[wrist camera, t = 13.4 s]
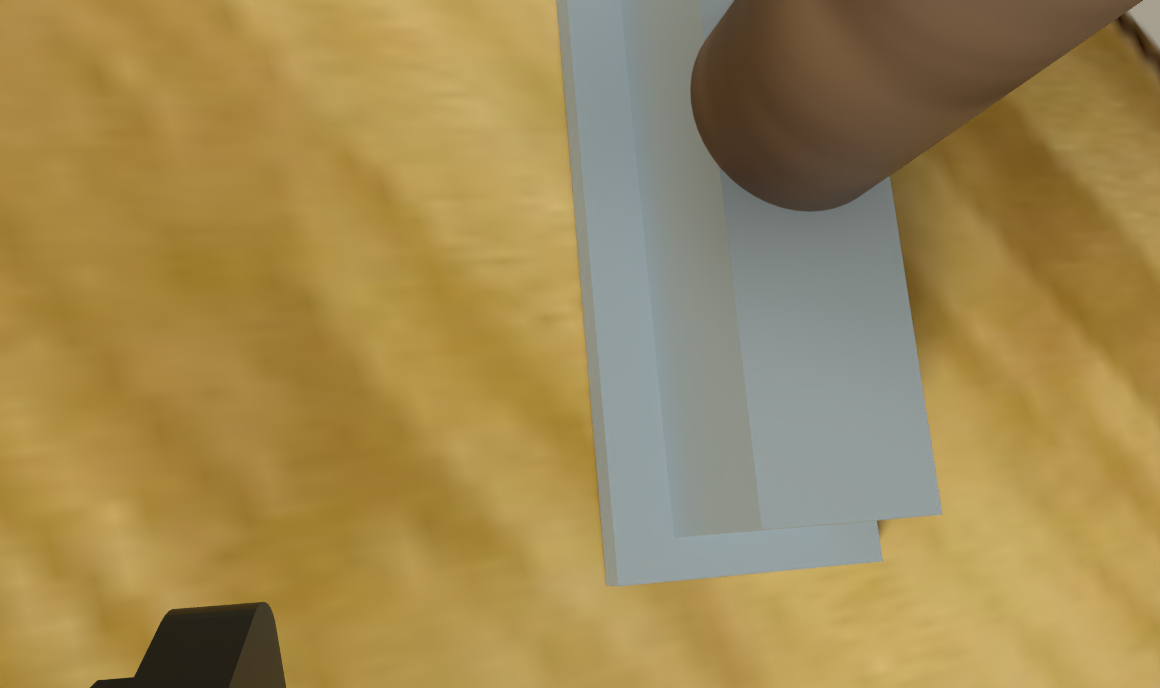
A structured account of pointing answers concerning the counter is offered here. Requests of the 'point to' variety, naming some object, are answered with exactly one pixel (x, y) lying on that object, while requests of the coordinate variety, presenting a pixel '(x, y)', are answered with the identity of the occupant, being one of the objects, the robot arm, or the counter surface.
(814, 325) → the rail
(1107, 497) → the counter surface
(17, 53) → the counter surface
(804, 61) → the pepper mill
